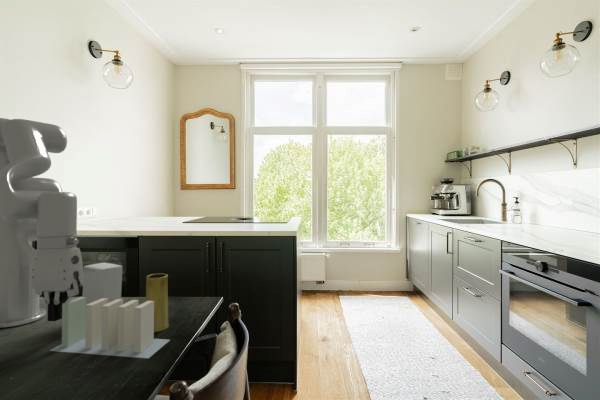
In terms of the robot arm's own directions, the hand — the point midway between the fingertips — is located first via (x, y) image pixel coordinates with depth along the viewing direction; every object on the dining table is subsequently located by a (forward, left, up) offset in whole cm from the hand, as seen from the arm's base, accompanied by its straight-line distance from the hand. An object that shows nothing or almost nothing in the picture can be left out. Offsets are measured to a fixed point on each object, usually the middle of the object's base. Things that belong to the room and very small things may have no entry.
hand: (56, 319), depth 75 cm
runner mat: (+15, 0, -6) cm, 16 cm away
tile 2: (+11, 0, -5) cm, 12 cm away
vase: (+19, +11, -6) cm, 23 cm away
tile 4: (+19, 0, -5) cm, 19 cm away
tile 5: (+23, 0, -5) cm, 23 cm away
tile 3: (+15, 0, -5) cm, 16 cm away
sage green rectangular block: (+5, 0, -5) cm, 7 cm away
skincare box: (0, +15, -6) cm, 16 cm away
